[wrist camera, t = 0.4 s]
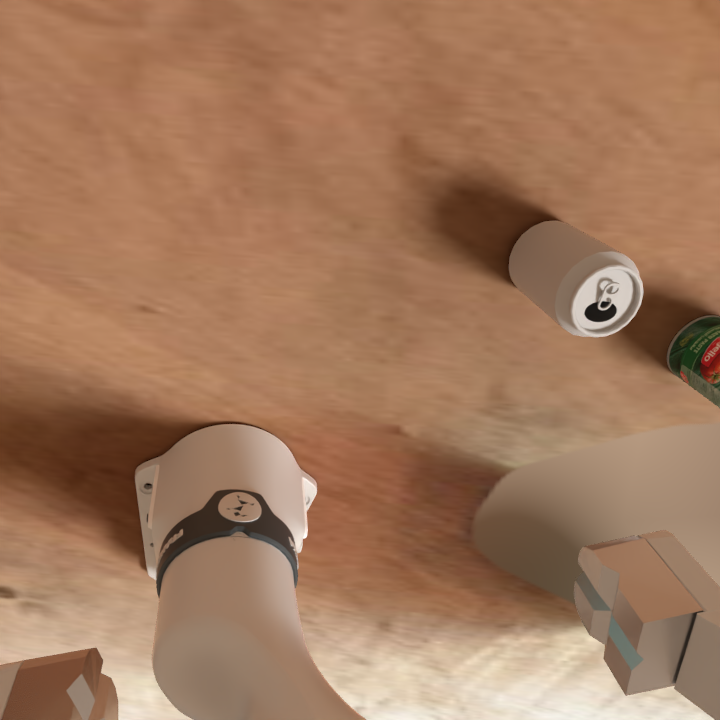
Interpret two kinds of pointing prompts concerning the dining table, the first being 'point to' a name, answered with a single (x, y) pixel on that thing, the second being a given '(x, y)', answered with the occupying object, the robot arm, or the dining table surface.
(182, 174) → the dining table surface
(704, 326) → the canned tomato
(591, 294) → the can
